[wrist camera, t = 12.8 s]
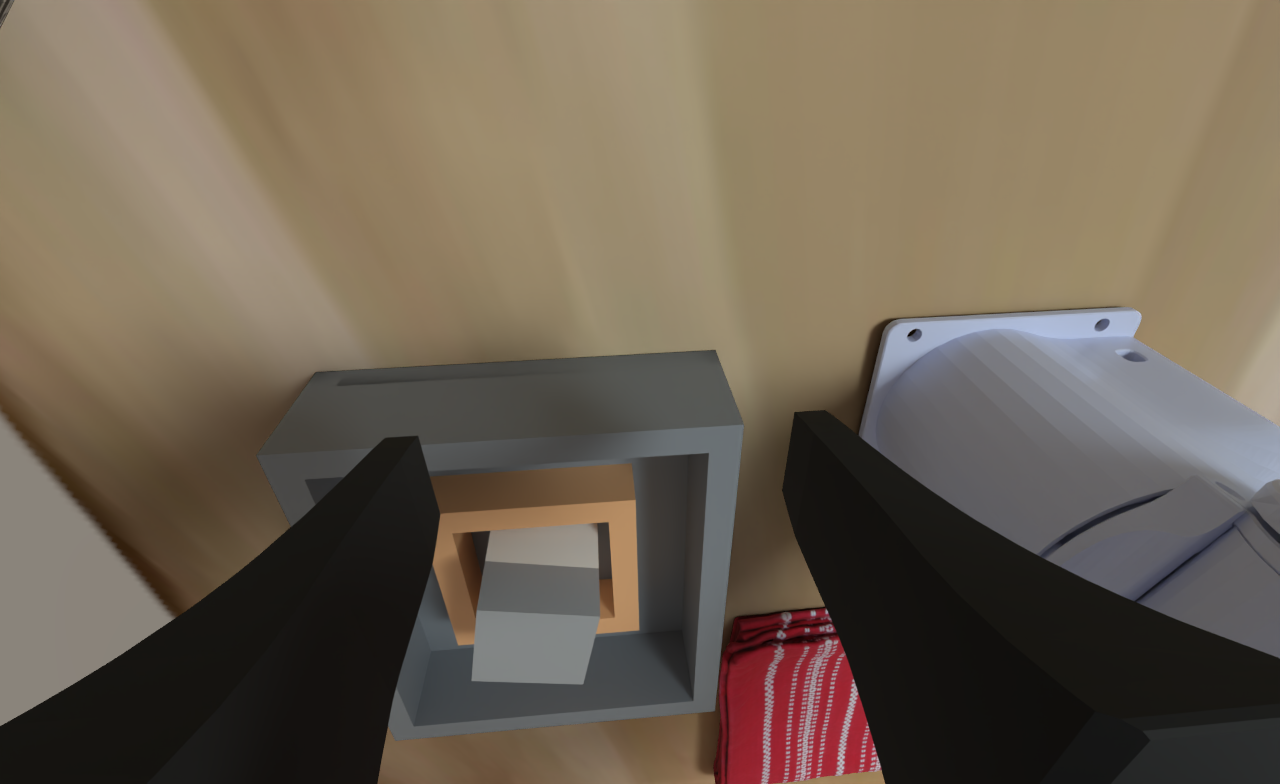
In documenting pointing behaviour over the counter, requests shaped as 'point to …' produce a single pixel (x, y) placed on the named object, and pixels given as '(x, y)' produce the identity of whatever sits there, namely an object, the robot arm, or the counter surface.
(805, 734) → the dish towel
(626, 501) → the box
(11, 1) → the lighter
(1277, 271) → the counter surface
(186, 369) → the counter surface
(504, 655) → the grey block
